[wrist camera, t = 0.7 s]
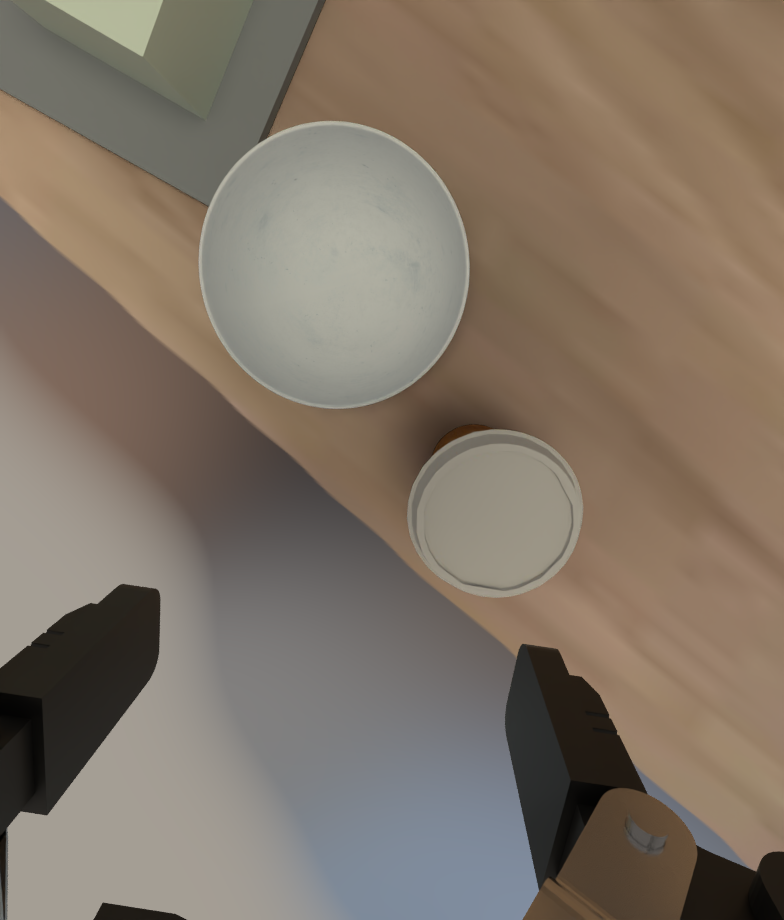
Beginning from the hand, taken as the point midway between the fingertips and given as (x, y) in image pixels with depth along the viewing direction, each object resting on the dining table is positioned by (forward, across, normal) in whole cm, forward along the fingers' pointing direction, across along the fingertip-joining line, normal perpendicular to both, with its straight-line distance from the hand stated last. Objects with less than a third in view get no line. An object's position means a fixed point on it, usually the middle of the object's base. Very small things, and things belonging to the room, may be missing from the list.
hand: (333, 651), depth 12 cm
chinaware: (+28, +4, -9) cm, 30 cm away
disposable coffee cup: (+28, -6, +2) cm, 29 cm away
